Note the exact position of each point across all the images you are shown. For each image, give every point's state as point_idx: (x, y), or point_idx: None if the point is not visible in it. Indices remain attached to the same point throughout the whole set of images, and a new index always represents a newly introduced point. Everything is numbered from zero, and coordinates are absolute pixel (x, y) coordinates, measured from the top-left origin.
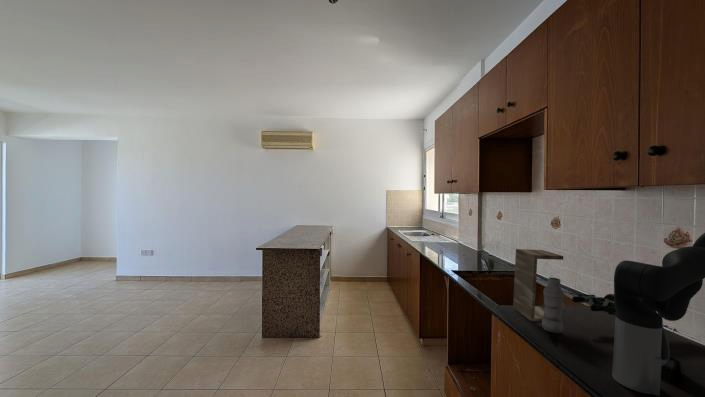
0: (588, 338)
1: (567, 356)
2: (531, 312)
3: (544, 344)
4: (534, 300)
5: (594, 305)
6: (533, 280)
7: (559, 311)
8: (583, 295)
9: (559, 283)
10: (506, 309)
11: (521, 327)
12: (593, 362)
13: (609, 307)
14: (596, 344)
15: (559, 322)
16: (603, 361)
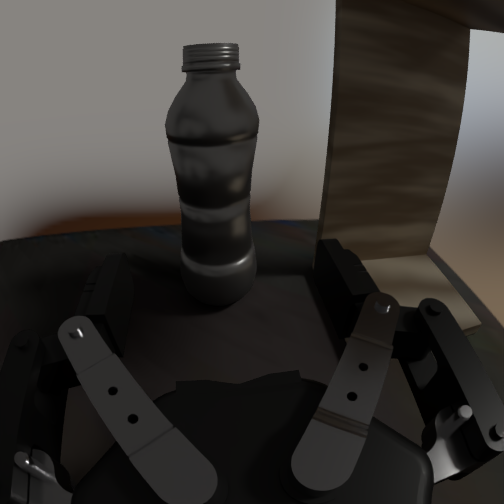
0: (161, 391)
1: (69, 254)
2: (317, 237)
3: (130, 238)
4: (327, 192)
5: (104, 264)
6: (332, 92)
7: (181, 206)
8: (425, 325)
9: (184, 63)
10: None
11: None
12: (31, 288)
13: (25, 331)
14: None
15: (182, 251)
16: (23, 313)
